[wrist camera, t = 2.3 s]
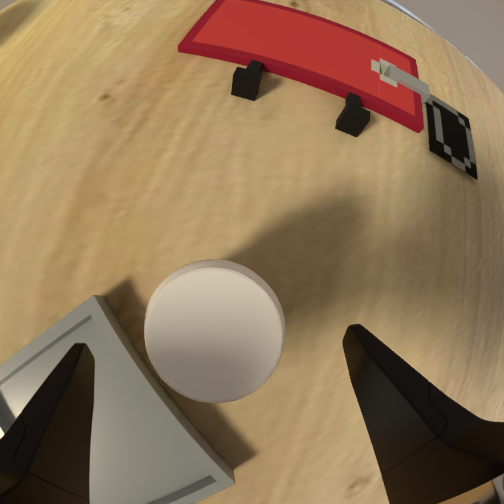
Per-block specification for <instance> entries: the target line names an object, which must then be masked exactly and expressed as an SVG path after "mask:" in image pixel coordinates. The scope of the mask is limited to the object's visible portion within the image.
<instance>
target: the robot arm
mask: <svg viewBox="0 0 504 504" xmlns="http://www.w3.org/2000/svg"><path fill="white" fill-rule="evenodd" d="M343 349H344V353H345V357H346V362H347V366H348V370H349V375H350V379H351V383H352V386H353V389H354V392H355V395H356V397H357V400H358V403H359V406H360V409H361V412H362V415H363V418H364V421H365V424H366V427H367V430H368V433H369V436H370V440H371V443H372V446H373V449H374V452H375V455H376V459H377V462H378V465H379V468H380V472H381V474H382V475H381V476H382V479H383V482H384V486H385V489H386V493H387V496H388V500H389V503H390V504H504V422H493V421H487V420H484V419H481V418H479V417H477V416H476V415H474V414H473V413H471V412H470V411H468V410H467V409H465V408H464V407H462V406H461V405H459V404H458V403H456V402H455V401H454V400H452V399H451V398H449V397H448V396H447V395H445V394H444V393H443V392H442V391H440V390H439V389H438V388H437V387H435V386H434V385H433V384H432V383H431V382H429V381H428V380H427V379H426V378H425V377H423V376H422V375H421V374H420V373H419V372H417V371H416V370H415V369H414V368H413V367H411V366H410V365H409V364H408V363H407V362H405V361H404V360H403V359H402V358H401V357H399V356H398V355H397V354H396V353H395V352H393V351H392V350H391V349H390V348H389V347H387V346H386V345H385V344H384V343H383V342H381V341H380V340H379V339H378V338H377V337H375V336H374V335H373V334H372V333H370V332H369V331H368V330H367V329H366V328H364V327H363V326H362V325H360V324H354V325H349V326H348V328H347V330H346V333H345V335H344V338H343ZM94 382H95V359H94V356H93V354H92V352H91V351H90V349H89V347H88V345H87V344H86V343H75V344H73V346H72V347H71V348H70V349H69V350H68V352H67V353H66V354H65V355H64V357H63V358H62V359H61V360H60V362H59V363H58V364H57V365H56V367H55V368H54V369H53V370H52V372H51V373H50V374H49V375H48V377H47V378H46V379H45V381H44V382H43V383H42V384H41V386H40V387H39V388H38V390H37V391H36V392H35V394H34V395H33V396H32V398H31V399H30V400H29V402H28V403H27V405H26V406H25V407H24V409H23V410H22V411H21V413H20V414H19V415H18V417H17V418H16V420H15V421H14V422H13V424H12V425H11V426H10V428H9V429H8V430H7V432H6V433H5V434H4V435H3V437H2V438H1V439H0V504H90V501H89V500H90V487H89V482H90V447H91V432H92V419H93V409H94Z"/></svg>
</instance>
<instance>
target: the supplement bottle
mask: <svg viewBox="0 0 504 504" xmlns="http://www.w3.org/2000/svg"><path fill="white" fill-rule="evenodd" d="M285 332H286V328H285V319H284V314H283V310H282V307H281V304H280V302H279V300H278V298H277V296H276V295H275V293H274V292H273V290H272V289H271V287H270V286H269V285H268V284H267V283H266V282H265V281H264V280H263V279H262V278H261V277H260V276H258V275H257V274H256V273H255V272H253V271H252V270H250V269H249V268H247V267H245V266H243V265H240V264H237V263H234V262H231V261H227V260H219V259H209V260H200V261H196V262H193V263H190V264H187V265H185V266H183V267H181V268H179V269H177V270H175V271H174V272H173V273H171V274H170V275H169V276H167V277H166V278H165V279H164V280H163V281H162V282H161V284H160V285H159V286H158V287H157V289H156V290H155V291H154V293H153V295H152V297H151V299H150V301H149V304H148V306H147V310H146V314H145V320H144V338H145V346H146V350H147V354H148V357H149V360H150V362H151V364H152V366H153V368H154V369H155V371H156V372H157V374H158V375H159V377H160V378H161V379H162V380H163V381H164V382H165V383H166V384H167V385H168V386H169V387H171V388H172V389H173V390H175V391H176V392H178V393H179V394H181V395H183V396H185V397H187V398H190V399H193V400H196V401H200V402H206V403H225V402H231V401H235V400H238V399H241V398H243V397H245V396H247V395H249V394H251V393H252V392H254V391H255V390H257V389H258V388H259V387H261V386H262V385H263V384H264V383H265V382H266V381H267V379H268V378H269V377H270V376H271V374H272V373H273V371H274V370H275V368H276V366H277V364H278V362H279V359H280V356H281V353H282V350H283V347H284V343H285Z"/></svg>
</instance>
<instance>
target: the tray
mask: <svg viewBox="0 0 504 504" xmlns="http://www.w3.org/2000/svg"><path fill="white" fill-rule="evenodd" d="M75 343H86V344H87V345H88V347H89V349H90V351H91V352H92V354H93V356H94V359H95V382H94V409H93V419H92V432H91V447H90V482H89V487H90V500H89V501H90V504H194V503H196V502H198V501H201V500H203V499H205V498H207V497H209V496H211V495H213V494H216V493H218V492H220V491H222V490H224V489H226V488H228V487H229V486H231V485H233V484H235V477H234V471H233V469H232V468H231V467H230V466H229V465H228V464H227V463H226V462H225V461H224V460H223V459H222V458H221V457H220V455H219V454H218V453H217V452H216V451H215V450H214V449H213V448H212V447H211V446H210V444H209V443H208V442H207V441H206V440H205V439H204V438H203V437H202V435H201V434H200V433H199V432H198V431H197V430H196V428H195V427H194V426H193V425H192V424H191V422H190V421H189V420H188V419H187V418H186V416H185V415H184V414H183V413H182V411H181V410H180V409H179V408H178V406H177V405H176V404H175V402H174V401H173V400H172V399H171V397H170V396H169V395H168V393H167V392H166V391H165V389H164V388H163V387H162V385H161V384H160V383H159V381H158V380H157V378H156V377H155V376H154V374H153V373H152V371H151V370H150V369H149V367H148V366H147V364H146V363H145V361H144V360H143V358H142V357H141V355H140V354H139V352H138V351H137V349H136V348H135V346H134V345H133V343H132V342H131V340H130V339H129V337H128V335H127V334H126V332H125V331H124V329H123V327H122V326H121V324H120V322H119V321H118V319H117V317H116V316H115V314H114V312H113V311H112V309H111V307H110V305H109V304H108V302H107V300H106V298H105V297H104V296H97V295H93V296H92V297H90V298H89V299H88V300H86V301H85V302H83V303H82V304H81V305H79V306H78V307H76V308H75V309H74V310H72V311H71V312H70V313H68V314H67V315H66V316H64V317H63V318H61V319H60V320H59V321H57V322H56V323H55V324H53V325H52V326H51V327H49V328H48V329H47V330H45V331H44V332H43V333H42V334H40V335H39V336H38V337H36V338H35V339H34V340H32V341H31V342H30V343H29V344H27V345H26V346H25V347H23V348H22V349H21V350H20V351H18V352H17V353H16V354H15V355H13V356H12V357H11V358H10V359H8V360H7V361H6V362H5V363H3V364H2V365H1V366H0V438H2V437H3V435H4V434H5V433H6V432H7V430H8V429H9V428H10V426H11V425H12V424H13V422H14V421H15V420H16V418H17V417H18V415H19V414H20V413H21V411H22V410H23V409H24V407H25V406H26V405H27V403H28V402H29V400H30V399H31V398H32V396H33V395H34V394H35V392H36V391H37V390H38V388H39V387H40V386H41V384H42V383H43V382H44V381H45V379H46V378H47V377H48V375H49V374H50V373H51V372H52V370H53V369H54V368H55V367H56V365H57V364H58V363H59V362H60V360H61V359H62V358H63V357H64V355H65V354H66V353H67V352H68V350H69V349H70V348H71V347H72V346H73V344H75Z"/></svg>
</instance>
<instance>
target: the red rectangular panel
mask: <svg viewBox="0 0 504 504" xmlns="http://www.w3.org/2000/svg"><path fill="white" fill-rule="evenodd" d="M178 52H181V53H188V54H193V55H199V56H204V57H209V58H214V59H219V60H224V61H228V62H232V63H237V64H241V65H245V66H247V68H246V69H244V68H240V67H237V68H236V70H235V72H234V74H233V82H232V91H231V95H234V96H238V97H242V98H245V99H249V100H253V101H255V99H256V96H257V94H258V90H259V85H260V80H261V76H262V73H260V72H261V70H263V71H267V72H270V73H274V74H277V75H280V76H283V77H287V78H290V79H293V80H296V81H299V82H302V83H305V84H308V85H310V86H313V87H316V88H319V89H321V90H324V91H327V92H329V93H332V94H335V95H337V96H340V97H342V98H345V99H346V106H345V107H344V109H343V111H342V112H341V114H340V116H339V117H338V119H337V121H336V127H335V129H337V130H340V131H342V132H345V133H347V134H350V135H352V136H354V137H357V136H358V135H359V134H360V132H361V131H362V130H363V129H364V127H365V126H366V125H367V123H368V122H369V121H370V112H369V111H367V110H365V109H363V108H361V105H362V106H364V107H366V108H368V109H371V110H373V111H375V112H377V113H379V114H381V115H384V116H386V117H388V118H390V119H392V120H394V121H396V122H398V123H400V124H402V125H404V126H406V127H408V128H410V129H411V130H413V131H415V132H417V133H419V132H420V131H421V130H422V129H423V128H424V125H423V113H422V104H424V103H425V102H426V108H427V118H428V130H429V145H430V151H431V152H433V153H435V154H436V155H438V156H440V157H442V158H443V159H445V160H447V161H448V162H450V163H452V164H453V165H455V166H457V167H458V168H460V169H461V170H463V171H464V172H466V173H468V174H469V175H471V176H472V177H474V178H475V179H477V169H476V161H475V153H474V146H473V140H472V134H471V129H470V123H469V119H468V118H467V117H466V116H464V115H463V114H461V113H460V112H458V111H457V110H455V109H454V108H452V107H451V106H449V105H448V104H446V103H445V102H443V101H441V100H440V99H438V98H437V97H435V96H433V95H432V94H430V90H429V85H428V84H426V83H424V82H422V81H421V80H419V78H418V71H417V65H416V59H414V58H412V57H410V56H409V55H407V54H405V53H403V52H401V51H399V50H397V49H395V48H393V47H391V46H389V45H387V44H385V43H383V42H381V41H379V40H377V39H374V38H372V37H370V36H368V35H366V34H363V33H361V32H359V31H356V30H354V29H351V28H349V27H346V26H344V25H341V24H338V23H336V22H333V21H330V20H327V19H325V18H322V17H319V16H316V15H313V14H309V13H306V12H303V11H299V10H296V9H292V8H289V7H285V6H281V5H277V4H273V3H269V2H265V1H260V0H216V1H215V2H214V3H213V4H212V5H211V6H210V7H209V9H208V10H207V11H206V12H205V13H204V14H203V15H202V17H201V18H200V19H199V20H198V21H197V22H196V24H195V25H194V26H193V27H192V29H191V30H190V31H189V32H188V33H187V35H186V36H185V37H184V39H183V40H182V41H181V42H180V44H179V45H178ZM380 71H382V72H384V75H382V74H380ZM477 180H478V179H477Z"/></svg>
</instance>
